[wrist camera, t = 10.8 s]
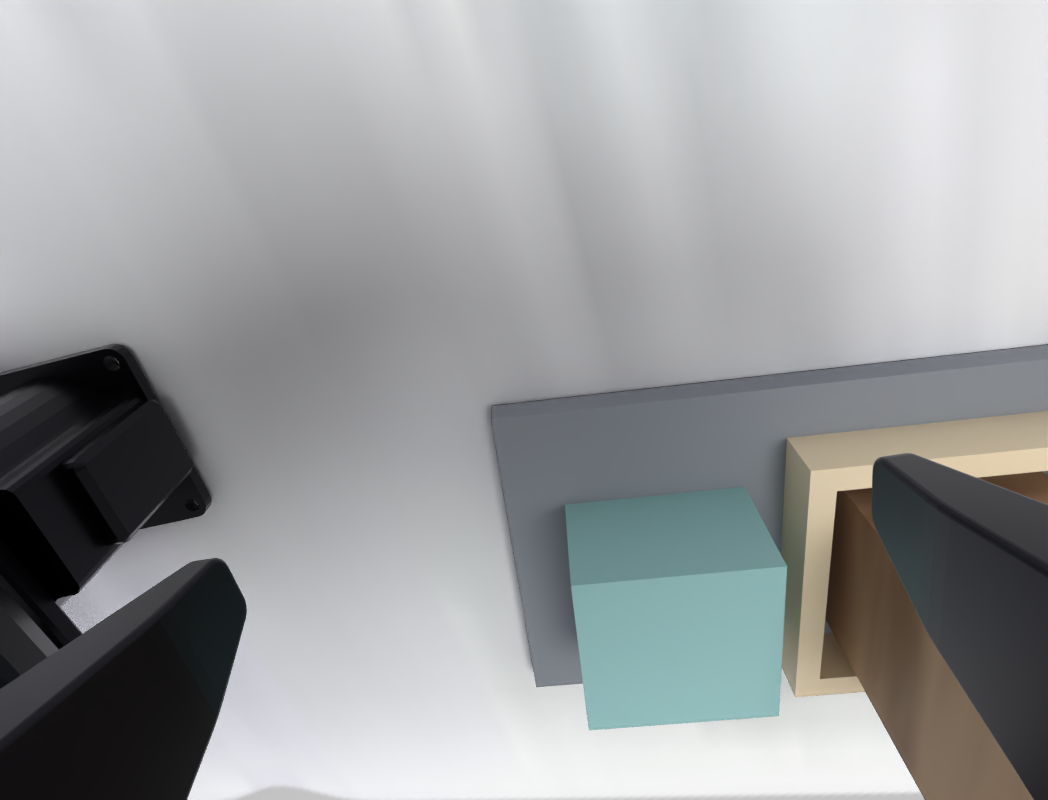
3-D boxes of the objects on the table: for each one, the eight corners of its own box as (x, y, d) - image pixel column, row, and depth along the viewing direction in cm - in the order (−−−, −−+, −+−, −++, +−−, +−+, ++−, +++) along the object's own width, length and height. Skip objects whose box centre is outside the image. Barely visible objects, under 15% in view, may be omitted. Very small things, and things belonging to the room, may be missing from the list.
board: (536, 666, 27) (536, 784, 22) (492, 405, 21) (481, 489, 17) (1154, 616, 25) (1292, 731, 20) (1266, 320, 20) (1482, 387, 15)
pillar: (823, 616, 24) (1083, 1086, 13) (834, 478, 21) (1172, 913, 10) (993, 601, 23) (1418, 1073, 12) (1025, 459, 21) (1601, 888, 10)
